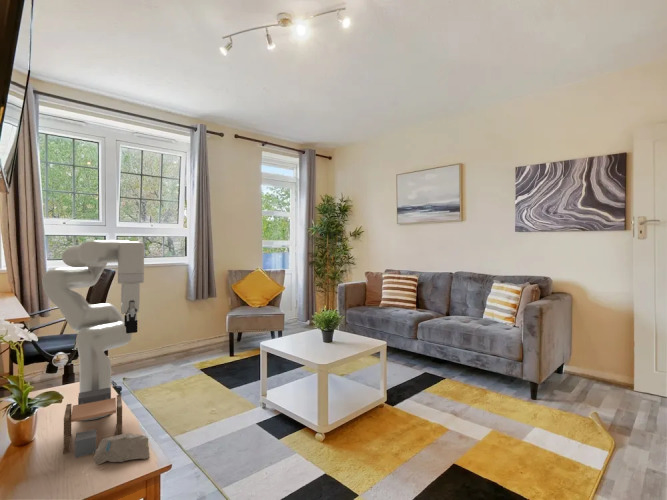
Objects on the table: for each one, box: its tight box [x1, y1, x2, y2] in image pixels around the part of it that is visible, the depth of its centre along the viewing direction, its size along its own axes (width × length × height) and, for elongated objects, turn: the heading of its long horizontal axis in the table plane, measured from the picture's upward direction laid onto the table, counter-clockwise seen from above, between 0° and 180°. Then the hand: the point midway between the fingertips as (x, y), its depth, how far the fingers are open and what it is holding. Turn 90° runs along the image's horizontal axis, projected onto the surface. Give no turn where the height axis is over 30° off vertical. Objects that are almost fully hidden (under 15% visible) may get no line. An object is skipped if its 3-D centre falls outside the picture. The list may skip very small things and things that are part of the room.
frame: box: [62, 394, 123, 454], centre depth 113 cm, size 10×15×10 cm
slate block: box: [74, 428, 97, 459], centre depth 106 cm, size 5×5×5 cm
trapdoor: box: [71, 386, 117, 423], centre depth 116 cm, size 14×12×3 cm
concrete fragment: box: [93, 432, 150, 465], centre depth 104 cm, size 7×14×6 cm, turn 100°
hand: (130, 329), depth 119 cm, fingers open, 9 cm apart
